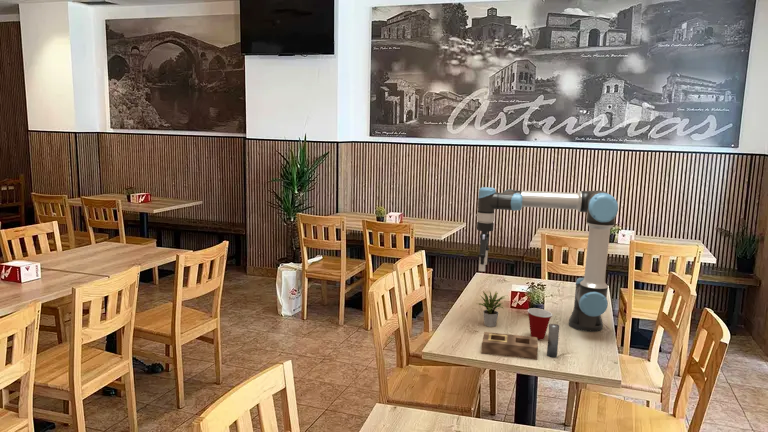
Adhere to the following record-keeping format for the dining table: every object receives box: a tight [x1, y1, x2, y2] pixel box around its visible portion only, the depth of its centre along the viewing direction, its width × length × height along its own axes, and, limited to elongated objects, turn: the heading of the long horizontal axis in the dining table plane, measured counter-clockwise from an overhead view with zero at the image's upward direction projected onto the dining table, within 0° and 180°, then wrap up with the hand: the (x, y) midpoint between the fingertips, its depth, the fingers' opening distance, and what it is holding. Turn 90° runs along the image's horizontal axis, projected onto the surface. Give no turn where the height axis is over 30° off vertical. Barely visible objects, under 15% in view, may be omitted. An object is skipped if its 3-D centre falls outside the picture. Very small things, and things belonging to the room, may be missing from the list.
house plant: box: [477, 291, 508, 328], centre depth 278 cm, size 14×14×16 cm
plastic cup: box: [527, 307, 553, 341], centre depth 265 cm, size 11×11×12 cm
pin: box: [546, 323, 560, 359], centre depth 244 cm, size 4×4×13 cm
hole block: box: [481, 331, 539, 360], centre depth 249 cm, size 22×12×5 cm, turn 77°
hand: (482, 267), depth 275 cm, fingers open, 13 cm apart
